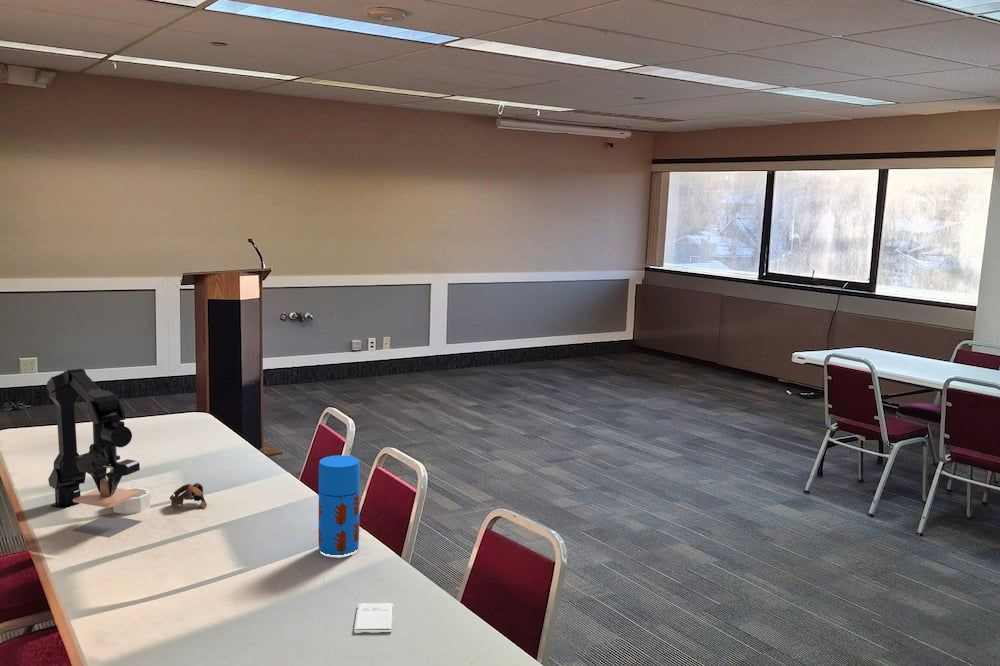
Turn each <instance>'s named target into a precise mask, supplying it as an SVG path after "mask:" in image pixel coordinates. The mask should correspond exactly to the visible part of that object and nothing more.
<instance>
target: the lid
mask: <svg viewBox="0 0 1000 666" xmlns="http://www.w3.org/2000/svg"><path fill="white" fill-rule="evenodd" d="M126 489H127V488H119V487H117V488H116V490H115V492H114V494H113V495H110V492H109V481H108V477H106V478H104V479H101V480H100V493H99V491H98V488H97V489H95V490H91V491H89V492H87V493H84V494H83V495H80V496H79V497H77V498H74V499H73V502H77V503H79V504H84V505H87V506H96V507H100V508H101V507H102V508H106V509H110V508H113V506H114V505H116V504H119V503H121V502H123V501H125V500H128V499H130V498H132V497H135V496H137V495H139V494H140V492H139V491H133V490H126Z"/></svg>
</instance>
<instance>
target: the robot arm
mask: <svg viewBox="0 0 1000 666" xmlns="http://www.w3.org/2000/svg"><path fill="white" fill-rule="evenodd" d="M46 388H47V391H48V395H49V398H50V399H51V400H52V402H53V403H54V404H55V406H56V408H55V410H56V421H57V438H58V441H57V442H58V454H57V456H56V457H55V459H54V461H53V470H52V471H51V473H50V474H49V477H48V478H47V479H48V481H47V482H48V484H49V485H48V486H49V487H51V488H52V489H54V496H55V497H54V498H55V499H54V500H55V502H53V503H51V505H52V506H51V507H55V506H58V507H57V508H62V509H67V508H71V507H73V506H76V505H78V504H80V503H77V502H73V499H74V498H77V497H79V496H81V489H80V484H85V482H86V475H87V474H88V475H91V477H92V480H93V481H94V484H95V486H96V488H97V489H98V491H99V493H100V480H101V479H104V478H108V481H109V492H110V495H113V494H114V492H115V490H116V488H118V485H119V483H120V481H121V479H122V478H123V477H125V476H129V475H131V474H134V473H136V472H138V471H141V470H140V467H141V466H140V462H139V461H138V460H134V459H129V458H128V459H124V460H121V461H119V460H120V459H121V455H117V453H118V452H117V448H124V447H126V446H128V445H129V444H130V443H131V440H132V439H133V433H132V431H131V429H130V428H129V427H127V426H125V422H124V421H125V420H126V416H125V415H126V412H125V410H124V408H123V406H122V404H121V403H122V402H120V399H119V397H117V395H116V394H115V393H113V392H111V391H109V390H105V389H102V388H100V387H99V386H98V385H97V384H96V382H94V381H93V380H92V379H91V378H90V376H88V374H87V373H86V370H85V369H84V368H72V369H67V370H64V371H63V372H62V373H60V374H58V375H54V376H51V377H50V378H49V380H48V381H47V382H46ZM80 396H81V398H82V399H83V400H84V401H85V402H86V408H85V409H86V411H87V413H88V415H89V416H90V417H91V418H90V422H91V423H92V437H93V438H92V439H93V443H92V444H91V443H90V444H89V450H88V452H86V453H84V454H79V453H78V445H77V442H78V441H77V429H76V427H77V426H76V425H77V424H76V411H75V404H76V402H78V399H79V398H80ZM108 469H110V470H109V472H107V470H108Z"/></svg>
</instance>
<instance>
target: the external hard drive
mask: <svg viewBox="0 0 1000 666" xmlns="http://www.w3.org/2000/svg"><path fill="white" fill-rule="evenodd" d="M392 606H393V607H394V603H393V602H376V603H375V602H362V603H361V602H360V603H358V604H357V608H358V609H357V610H356V614H355V621H354V626H355V627H353V631H354V630H391V628H392V629H393V627H392V626H393V617H392Z"/></svg>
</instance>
